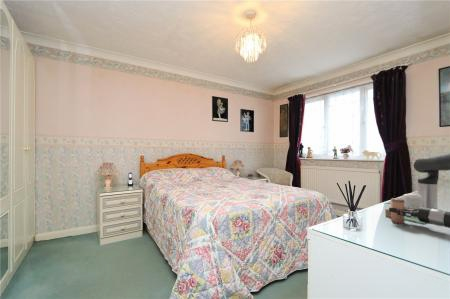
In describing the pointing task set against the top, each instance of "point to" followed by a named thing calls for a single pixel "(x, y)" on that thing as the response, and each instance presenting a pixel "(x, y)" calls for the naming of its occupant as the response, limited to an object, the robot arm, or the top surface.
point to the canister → (398, 205)
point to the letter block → (387, 213)
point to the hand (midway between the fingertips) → (392, 208)
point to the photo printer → (413, 200)
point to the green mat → (414, 220)
